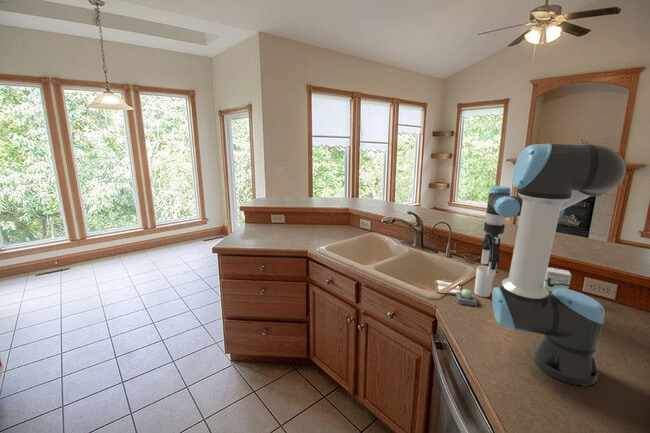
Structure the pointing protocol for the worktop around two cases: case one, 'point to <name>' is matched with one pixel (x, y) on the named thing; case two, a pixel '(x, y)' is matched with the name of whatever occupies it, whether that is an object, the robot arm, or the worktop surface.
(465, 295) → the button
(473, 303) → the button base
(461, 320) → the worktop surface
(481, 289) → the mug
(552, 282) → the ink box
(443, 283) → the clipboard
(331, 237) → the worktop surface
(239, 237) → the worktop surface
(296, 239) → the worktop surface
